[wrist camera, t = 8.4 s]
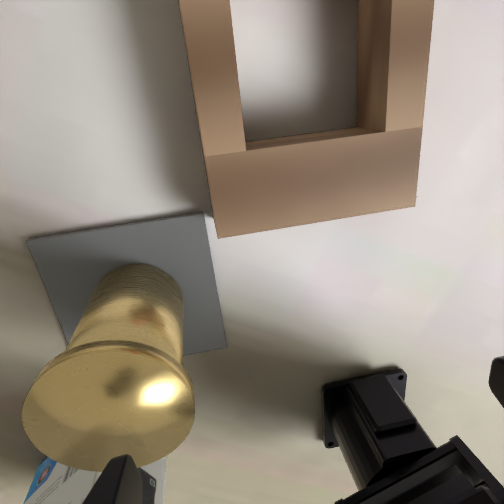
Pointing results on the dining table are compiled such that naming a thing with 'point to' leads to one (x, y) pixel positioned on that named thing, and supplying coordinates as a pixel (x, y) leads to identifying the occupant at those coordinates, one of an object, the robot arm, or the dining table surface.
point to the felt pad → (134, 252)
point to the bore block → (313, 144)
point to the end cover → (117, 377)
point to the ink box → (88, 483)
